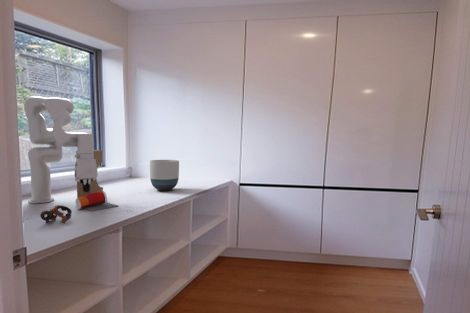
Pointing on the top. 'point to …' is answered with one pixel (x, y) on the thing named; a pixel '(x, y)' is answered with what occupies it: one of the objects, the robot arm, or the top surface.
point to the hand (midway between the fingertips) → (86, 191)
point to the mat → (100, 206)
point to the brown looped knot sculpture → (56, 214)
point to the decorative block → (94, 185)
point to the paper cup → (91, 199)
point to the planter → (164, 174)
